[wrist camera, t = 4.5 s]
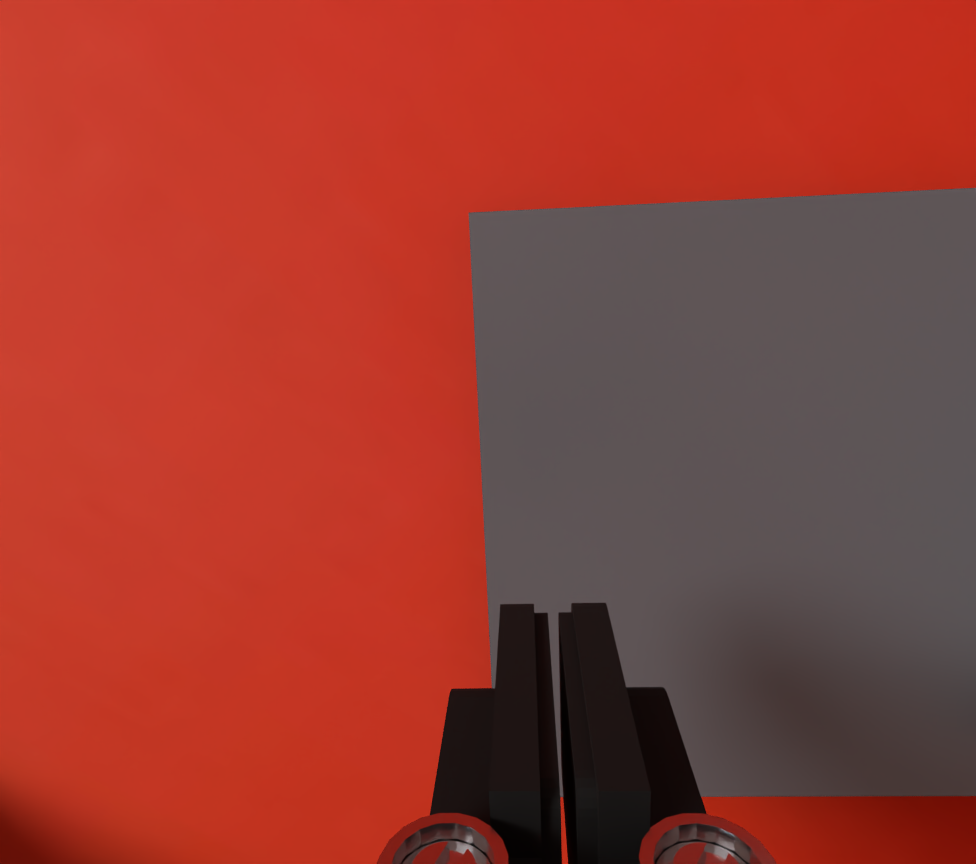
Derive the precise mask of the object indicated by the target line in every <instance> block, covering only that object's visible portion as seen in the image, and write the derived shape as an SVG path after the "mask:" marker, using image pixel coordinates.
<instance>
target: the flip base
mask: <svg viewBox="0 0 976 864" xmlns="http://www.w3.org/2000/svg"><path fill="white" fill-rule="evenodd" d="M469 228H470V249H471V269H472V289H473V310H474V330H475V350H476V371H477V391H478V411H479V432H480V452H481V473H482V493H483V513H484V534H485V554H486V574H487V595H488V615H489V636H490V656H491V676H492V688H495V682H496V666H497V649H498V633H499V617H500V604H534V613H548V623H549V638H550V652H551V666H552V681H553V695H554V709H555V724H556V738H557V752H558V766H559V783H560V797H563V786H562V769H561V729H560V677H559V626H558V613H559V612H571V603H606V604H607V608H608V612H609V617H610V621H611V625H612V629H613V633H614V638H615V642H616V646H617V650H618V655H619V659H620V663H621V667H622V672H623V676H624V680H625V684H626V687H663V688H665V690H666V692H667V694H668V697H669V700H670V703H671V706H672V709H673V712H674V715H675V718H676V722H677V725H678V728H679V731H680V734H681V737H682V740H683V743H684V746H685V749H686V752H687V755H688V758H689V762H690V765H691V768H692V771H693V774H694V777H695V780H696V783H697V786H698V789H699V792H700V795H701V797H734V796H976V188H964V189H944V190H923V191H903V192H882V193H862V194H841V195H821V196H801V197H780V198H760V199H739V200H719V201H698V202H678V203H657V204H637V205H616V206H596V207H575V208H555V209H535V210H514V211H494V212H473V213H469Z"/></svg>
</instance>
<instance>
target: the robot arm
mask: <svg viewBox="0 0 976 864" xmlns="http://www.w3.org/2000/svg"><path fill="white" fill-rule="evenodd" d="M558 626H559V677H560V729H561V769H562V786H563V799H564V812H565V826H566V839H567V853H568V864H776V862H775V860H774V859H773V857H772V856H771V855H770V853H769V852H768V851H767V849H766V848H765V847H764V846H763V844H762V843H761V842H760V841H759V840H758V839H757V838H755V837H754V836H753V835H751V834H750V833H749V832H748V831H746V830H745V829H744V828H742V827H740V826H738V825H736V824H734V823H732V822H730V821H728V820H726V819H723V818H720V817H716V816H711V815H707V814H706V811H705V808H704V805H703V801H702V798H701V795H700V792H699V789H698V786H697V783H696V780H695V777H694V774H693V771H692V768H691V765H690V762H689V758H688V755H687V752H686V749H685V746H684V743H683V740H682V737H681V734H680V731H679V728H678V725H677V722H676V718H675V715H674V712H673V709H672V706H671V703H670V700H669V697H668V694H667V692H666V690H665V688H663V687H626V684H625V680H624V676H623V672H622V667H621V663H620V659H619V655H618V650H617V646H616V642H615V638H614V633H613V629H612V625H611V621H610V617H609V612H608V608H607V604H606V603H571V612H559V613H558ZM377 864H562V852H561V806H560V783H559V766H558V752H557V738H556V724H555V709H554V695H553V681H552V666H551V652H550V638H549V623H548V613H534V604H500V617H499V633H498V649H497V666H496V682H495V688H480V689H451V691H450V695H449V701H448V707H447V713H446V719H445V726H444V732H443V738H442V744H441V750H440V756H439V762H438V769H437V775H436V781H435V787H434V793H433V799H432V806H431V812H430V816H426V817H422V818H419V819H417V820H416V821H414V822H412V823H410V824H408V825H406V826H404V827H403V828H402V829H401V830H400V831H399V832H397V833H396V834H395V835H394V836H393V837H392V838H391V839H390V840H389V842H388V843H387V845H386V846H385V848H384V850H383V851H382V853H381V855H380V857H379V859H378V862H377Z"/></svg>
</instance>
